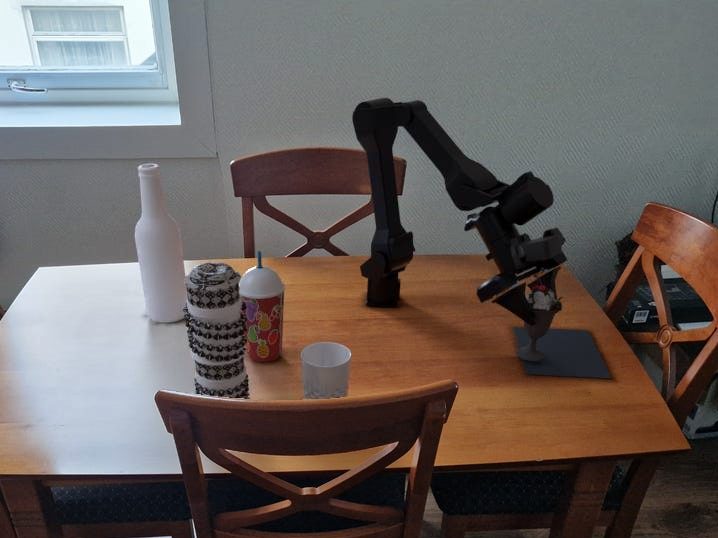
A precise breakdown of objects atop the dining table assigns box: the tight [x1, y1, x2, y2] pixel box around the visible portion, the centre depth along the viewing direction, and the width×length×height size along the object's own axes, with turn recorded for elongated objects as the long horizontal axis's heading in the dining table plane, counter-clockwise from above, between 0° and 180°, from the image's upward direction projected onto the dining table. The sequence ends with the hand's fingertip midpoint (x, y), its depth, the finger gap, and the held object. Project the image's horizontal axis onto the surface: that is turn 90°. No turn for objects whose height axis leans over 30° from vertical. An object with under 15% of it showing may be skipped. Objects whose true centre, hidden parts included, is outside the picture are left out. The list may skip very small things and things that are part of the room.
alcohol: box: [134, 163, 188, 324], centre depth 128 cm, size 9×9×30 cm
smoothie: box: [239, 250, 286, 363], centre depth 116 cm, size 8×8×20 cm
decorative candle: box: [183, 261, 251, 400], centre depth 99 cm, size 9×9×25 cm
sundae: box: [515, 274, 563, 361], centre depth 113 cm, size 7×7×15 cm
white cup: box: [300, 341, 352, 400], centre depth 104 cm, size 8×8×10 cm
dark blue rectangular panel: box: [512, 326, 613, 380], centre depth 120 cm, size 14×18×1 cm
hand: (545, 318), depth 112 cm, fingers closed on sundae, 6 cm apart
